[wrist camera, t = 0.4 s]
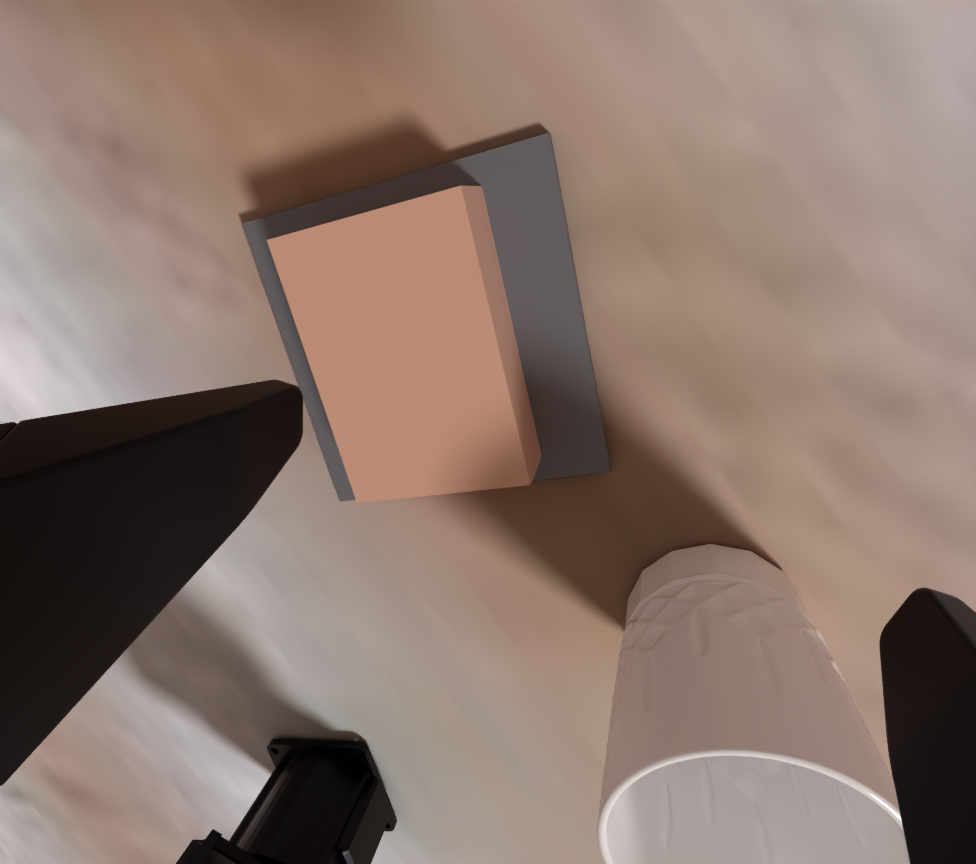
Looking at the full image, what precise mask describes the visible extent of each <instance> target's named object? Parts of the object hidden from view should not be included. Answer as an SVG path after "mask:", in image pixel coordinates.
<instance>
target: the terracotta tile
mask: <svg viewBox="0 0 976 864" xmlns="http://www.w3.org/2000/svg"><path fill="white" fill-rule="evenodd" d="M267 242H268V245H269V248H270V251H271V254H272V257H273V260H274V263H275V266H276V269H277V272H278V275H279V277H280V280H281V283H282V286H283V289H284V292H285V295H286V298H287V301H288V304H289V307H290V309H291V312H292V315H293V318H294V321H295V324H296V327H297V330H298V333H299V336H300V339H301V342H302V344H303V347H304V350H305V353H306V356H307V359H308V362H309V365H310V368H311V371H312V374H313V377H314V379H315V382H316V385H317V388H318V391H319V394H320V397H321V400H322V403H323V406H324V409H325V412H326V414H327V417H328V420H329V423H330V426H331V429H332V432H333V435H334V438H335V441H336V444H337V447H338V449H339V452H340V455H341V458H342V461H343V464H344V467H345V470H346V473H347V476H348V479H349V482H350V484H351V487H352V490H353V493H354V496H355V499H356V502H357V503H365V502H375V501H384V500H394V499H403V498H413V497H422V496H432V495H441V494H451V493H460V492H470V491H479V490H489V489H499V488H508V487H518V486H527V485H531V483H532V480H533V477H534V475H535V472H536V470H537V467H538V465H539V462H540V460H541V457H542V455H541V450H540V446H539V441H538V437H537V432H536V428H535V423H534V419H533V414H532V410H531V405H530V401H529V396H528V392H527V387H526V383H525V378H524V374H523V369H522V364H521V360H520V355H519V351H518V346H517V342H516V337H515V333H514V328H513V324H512V319H511V315H510V310H509V306H508V301H507V297H506V292H505V288H504V283H503V279H502V274H501V270H500V265H499V261H498V256H497V252H496V247H495V243H494V238H493V234H492V229H491V225H490V220H489V216H488V211H487V207H486V202H485V197H484V193H483V188H482V186H457V187H454V188H450V189H447V190H443V191H440V192H436V193H432V194H429V195H425V196H422V197H418V198H415V199H411V200H408V201H404V202H400V203H397V204H393V205H390V206H386V207H383V208H379V209H375V210H372V211H368V212H365V213H361V214H358V215H354V216H351V217H347V218H343V219H340V220H336V221H333V222H329V223H326V224H322V225H319V226H315V227H311V228H308V229H304V230H301V231H297V232H294V233H290V234H286V235H283V236H279V237H276V238H272V239H269V240H267Z"/></svg>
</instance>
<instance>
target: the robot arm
mask: <svg viewBox="0 0 976 864" xmlns="http://www.w3.org/2000/svg"><path fill="white" fill-rule="evenodd" d="M302 434H303V394H302V391H301V389H300V388H299V387H298V386H295V385H292V384H289V383H286V382H283V381H280V380H268V381H262V382H256V383H250V384H244V385H238V386H232V387H226V388H219V389H213V390H207V391H201V392H195V393H189V394H183V395H176V396H170V397H164V398H158V399H152V400H146V401H140V402H133V403H127V404H121V405H115V406H109V407H103V408H97V409H91V410H84V411H78V412H72V413H66V414H60V415H54V416H48V417H41V418H35V419H29V420H23V421H20V422H19V423H18V424H17V423H15V422H10V423H4V424H0V786H1V785H3V784H4V783H5V782H6V781H7V780H8V779H9V778H10V777H11V775H12V774H13V773H14V772H15V771H16V770H17V769H18V768H19V767H20V766H21V764H22V763H23V762H24V761H25V760H26V759H27V758H28V757H29V756H30V755H31V753H32V752H33V751H34V750H35V749H36V748H37V747H38V746H39V745H40V744H41V742H42V741H43V740H44V739H45V738H46V737H47V736H48V735H49V734H50V733H51V731H52V730H53V729H54V728H55V727H56V726H57V725H58V724H59V723H60V722H61V720H62V719H63V718H64V717H65V716H66V715H67V714H68V713H69V712H70V711H71V710H72V708H73V707H74V706H75V705H76V704H77V703H78V702H79V701H80V700H81V699H82V697H83V696H84V695H85V694H86V693H87V692H88V691H89V690H90V689H91V688H92V686H93V685H94V684H95V683H96V682H97V681H98V680H99V679H100V678H101V677H102V675H103V674H104V673H105V672H106V671H107V670H108V669H109V668H110V667H111V666H112V664H113V663H114V662H115V661H116V660H117V659H118V658H119V657H120V656H121V655H122V653H123V652H124V651H125V650H126V649H127V648H128V647H129V646H130V645H131V644H132V643H133V641H134V640H135V639H136V638H137V637H138V636H139V635H140V634H141V633H142V632H143V630H144V629H145V628H146V627H147V626H148V625H149V624H150V623H151V622H152V621H153V619H154V618H155V617H156V616H157V615H158V614H159V613H160V612H161V611H162V610H163V608H164V607H165V606H166V605H167V604H168V603H169V602H170V601H171V600H172V599H173V597H174V596H175V595H176V594H177V593H178V592H179V591H180V590H181V589H182V588H183V586H184V585H185V584H186V583H187V582H188V581H189V580H190V579H191V578H192V577H193V575H194V574H195V573H196V572H197V571H198V570H199V569H200V568H201V567H202V566H203V565H204V563H205V562H206V561H207V560H208V559H209V558H210V557H211V556H212V555H213V554H214V552H215V551H216V550H217V549H218V548H219V547H220V546H221V545H222V544H223V543H224V541H225V540H226V539H227V538H228V537H229V536H230V535H231V534H232V533H233V532H234V530H235V529H236V528H237V527H238V526H239V525H240V524H241V522H242V521H243V520H244V519H245V518H246V517H247V515H248V514H249V513H250V512H251V510H252V509H253V508H254V506H255V505H256V504H257V502H258V501H259V500H260V498H261V497H262V495H263V494H264V493H265V491H266V490H267V489H268V487H269V486H270V484H271V483H272V482H273V480H274V479H275V478H276V476H277V475H278V473H279V472H280V471H281V469H282V468H283V467H284V465H285V464H286V462H287V461H288V460H289V458H290V457H291V456H292V454H293V453H294V451H295V450H296V449H297V447H298V445H299V443H300V441H301V438H302ZM880 658H881V671H882V683H883V696H884V709H885V721H886V734H887V743H888V752H889V758H890V764H891V770H892V776H893V781H894V786H895V791H896V796H897V801H898V806H899V811H900V816H901V821H902V826H903V831H904V836H905V841H906V846H907V851H908V857H909V862H910V864H976V612H974V611H973V610H972V609H971V608H970V607H968V606H967V605H966V604H965V603H964V602H962V601H961V600H960V599H958V598H956V597H954V596H951V595H948V594H945V593H942V592H939V591H936V590H932V589H929V588H919V589H917V590H915V591H913V592H912V593H911V594H910V595H909V597H908V598H907V599H906V600H905V602H904V603H903V604H902V605H901V607H900V608H899V609H898V610H897V612H896V613H895V614H894V615H893V617H892V618H891V619H890V620H889V622H888V623H887V624H886V625H885V627H884V629H883V631H882V633H881V637H880ZM267 750H268V752H269V754H270V757H271V759H272V761H273V763H274V765H275V767H276V769H275V770H274V772H273V773H272V775H271V776H270V778H269V779H268V781H267V783H266V784H265V786H264V787H263V789H262V790H261V792H260V793H259V795H258V797H257V798H256V800H255V801H254V803H253V804H252V806H251V807H250V809H249V811H248V812H247V814H246V815H245V817H244V818H243V820H242V822H241V823H240V825H239V826H238V828H237V829H236V831H235V832H234V834H233V836H232V837H231V839H230V840H229V841H228V840H226V839H224V838H223V837H221V836H222V834H221V833H219V832H217V831H216V830H214V829H213V830H212V831H211V832H210V834H209V835H208V836H207V838H206V839H204V840H192V841H191V843H190V844H189V846H188V847H187V849H186V850H185V851H184V853H183V854H182V856H181V857H180V859H179V860H178V861H177V863H176V864H371V862H372V859H373V857H374V855H375V852H376V850H377V847H378V845H379V842H380V840H381V837H382V835H383V833H384V831H393V830H394V828H395V825H396V823H397V819H396V816H395V814H394V811H393V809H392V806H391V804H390V801H389V799H388V796H387V794H386V791H385V789H384V786H383V783H382V781H381V778H380V776H379V773H378V771H377V768H376V766H375V763H374V761H373V758H372V756H371V753H370V751H369V748H368V747H367V746H366V745H365V744H363V743H361V742H349V741H325V740H300V739H272V740H271V742H270V743H269V745H268V746H267Z"/></svg>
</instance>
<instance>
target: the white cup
mask: <svg viewBox="0 0 976 864" xmlns="http://www.w3.org/2000/svg"><path fill="white" fill-rule="evenodd" d="M597 837H598V844H599V849H600V852H601V855H602V858H603V860H604V863H605V864H910V862H909V857H908V851H907V846H906V841H905V836H904V831H903V826H902V821H901V816H900V811H899V806H898V801H897V796H896V791H895V786H894V782H893V780H892V778H891V775H890V773H889V771H888V769H887V767H886V765H885V763H884V761H883V758H882V756H881V754H880V752H879V750H878V748H877V746H876V744H875V741H874V739H873V737H872V735H871V733H870V731H869V729H868V727H867V724H866V722H865V720H864V718H863V716H862V714H861V712H860V710H859V707H858V705H857V703H856V701H855V699H854V697H853V696H852V694H851V692H850V691H849V689H848V688H847V686H846V683H845V681H844V679H843V677H842V675H841V673H840V670H839V668H838V666H837V664H836V662H835V661H834V659H833V657H832V656H831V654H830V651H829V649H828V647H827V645H826V643H825V641H824V639H823V637H822V635H821V633H820V632H819V630H818V629H817V628H815V627H814V625H813V623H812V621H811V619H810V617H809V614H808V612H807V610H806V608H805V606H804V604H803V602H802V600H801V599H800V597H799V595H798V594H797V592H796V590H795V589H794V587H793V585H792V584H791V582H790V580H789V579H788V577H787V575H786V574H785V572H783V571H782V570H780V569H779V568H777V567H775V566H774V565H772V564H771V563H769V562H767V561H766V560H764V559H763V558H761V557H760V556H758V555H756V554H755V553H753V552H752V551H748V550H742V549H737V548H731V547H726V546H720V545H715V544H706V545H701V546H695V547H690V548H685V549H679V550H674V551H671V552H669V553H668V554H666V555H665V556H663V557H662V558H660V559H659V560H657V561H656V562H654V563H653V564H651V565H650V566H648V567H647V568H645V569H644V570H643V571H642V572H641V574H640V576H639V578H638V580H637V582H636V584H635V586H634V588H633V590H632V592H631V594H630V596H629V598H628V604H627V614H626V623H625V632H624V636H623V639H622V643H621V648H620V652H619V659H618V668H617V676H616V680H615V686H614V692H613V700H612V708H611V716H610V725H609V734H608V742H607V751H606V759H605V768H604V776H603V784H602V792H601V800H600V808H599V816H598V824H597Z"/></svg>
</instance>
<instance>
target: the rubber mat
mask: <svg viewBox="0 0 976 864" xmlns="http://www.w3.org/2000/svg"><path fill="white" fill-rule="evenodd" d="M457 186H482V188H483V193H484V197H485V202H486V207H487V211H488V216H489V220H490V225H491V229H492V234H493V238H494V243H495V247H496V252H497V256H498V261H499V265H500V270H501V274H502V279H503V283H504V288H505V292H506V297H507V301H508V306H509V310H510V315H511V319H512V324H513V328H514V333H515V337H516V342H517V346H518V351H519V355H520V360H521V364H522V369H523V374H524V378H525V383H526V387H527V392H528V396H529V401H530V405H531V410H532V414H533V419H534V423H535V428H536V432H537V437H538V441H539V446H540V450H541V455H542V457H541V460H540V462H539V465H538V467H537V470H536V472H535V475H534V477H533V480H532V481H534V480H543V479H552V478H562V477H571V476H580V475H590V474H599V473H608V472H611V465H610V459H609V454H608V448H607V443H606V437H605V432H604V426H603V421H602V415H601V410H600V404H599V399H598V393H597V388H596V382H595V377H594V371H593V366H592V360H591V355H590V349H589V343H588V338H587V332H586V327H585V321H584V316H583V310H582V305H581V299H580V294H579V288H578V283H577V277H576V272H575V266H574V261H573V255H572V250H571V244H570V239H569V233H568V227H567V222H566V216H565V211H564V205H563V200H562V194H561V189H560V183H559V178H558V172H557V167H556V161H555V156H554V150H553V145H552V139H551V134H550V133H546V134H542V135H539V136H535V137H532V138H529V139H525V140H522V141H519V142H515V143H512V144H508V145H505V146H502V147H498V148H495V149H492V150H488V151H485V152H481V153H478V154H475V155H471V156H468V157H465V158H461V159H458V160H454V161H451V162H448V163H444V164H441V165H438V166H434V167H431V168H427V169H424V170H421V171H417V172H414V173H411V174H407V175H404V176H400V177H397V178H394V179H390V180H387V181H384V182H380V183H377V184H373V185H370V186H367V187H363V188H360V189H357V190H353V191H350V192H346V193H343V194H340V195H336V196H333V197H330V198H326V199H323V200H319V201H316V202H313V203H309V204H306V205H303V206H299V207H296V208H292V209H289V210H286V211H282V212H279V213H276V214H272V215H269V216H265V217H262V218H259V219H255V220H252V221H249V222H245V223H242V226H243V229H244V231H245V234H246V237H247V240H248V243H249V246H250V248H251V251H252V254H253V257H254V260H255V263H256V265H257V268H258V271H259V274H260V277H261V280H262V282H263V285H264V288H265V291H266V294H267V297H268V299H269V302H270V305H271V308H272V311H273V314H274V316H275V319H276V322H277V325H278V328H279V331H280V333H281V336H282V339H283V342H284V345H285V347H286V350H287V353H288V356H289V359H290V362H291V364H292V367H293V370H294V373H295V376H296V379H297V381H298V384H299V387H300V389H301V391H302V394H303V398H304V401H305V404H306V407H307V410H308V413H309V415H310V418H311V421H312V424H313V427H314V430H315V432H316V435H317V438H318V441H319V444H320V447H321V449H322V452H323V455H324V458H325V461H326V464H327V466H328V469H329V472H330V475H331V478H332V481H333V483H334V486H335V489H336V492H337V495H338V498H339V500H340V501H347V500H356V499H355V496H354V493H353V490H352V487H351V484H350V482H349V479H348V476H347V473H346V470H345V467H344V464H343V461H342V458H341V455H340V452H339V449H338V447H337V444H336V441H335V438H334V435H333V432H332V429H331V426H330V423H329V420H328V417H327V414H326V412H325V409H324V406H323V403H322V400H321V397H320V394H319V391H318V388H317V385H316V382H315V379H314V377H313V374H312V371H311V368H310V365H309V362H308V359H307V356H306V353H305V350H304V347H303V344H302V342H301V339H300V336H299V333H298V330H297V327H296V324H295V321H294V318H293V315H292V312H291V309H290V307H289V304H288V301H287V298H286V295H285V292H284V289H283V286H282V283H281V280H280V277H279V275H278V272H277V269H276V266H275V263H274V260H273V257H272V254H271V251H270V248H269V245H268V242H267V240H269V239H272V238H276V237H279V236H283V235H286V234H290V233H294V232H297V231H301V230H304V229H308V228H311V227H315V226H319V225H322V224H326V223H329V222H333V221H336V220H340V219H343V218H347V217H351V216H354V215H358V214H361V213H365V212H368V211H372V210H375V209H379V208H383V207H386V206H390V205H393V204H397V203H400V202H404V201H408V200H411V199H415V198H418V197H422V196H425V195H429V194H432V193H436V192H440V191H443V190H447V189H450V188H454V187H457Z"/></svg>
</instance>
